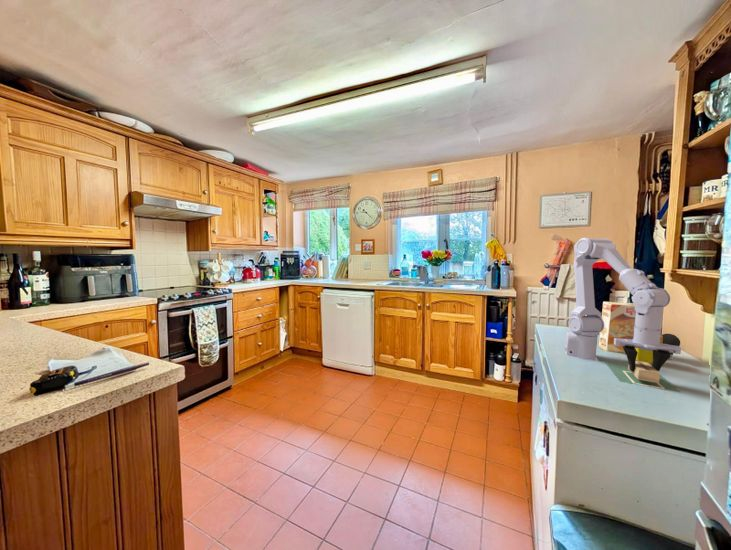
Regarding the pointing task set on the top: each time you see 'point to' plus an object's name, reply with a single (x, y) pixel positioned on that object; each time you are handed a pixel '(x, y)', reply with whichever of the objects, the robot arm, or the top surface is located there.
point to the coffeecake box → (617, 325)
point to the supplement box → (646, 354)
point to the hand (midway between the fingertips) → (642, 372)
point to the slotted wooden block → (645, 372)
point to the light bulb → (670, 341)
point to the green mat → (628, 377)
